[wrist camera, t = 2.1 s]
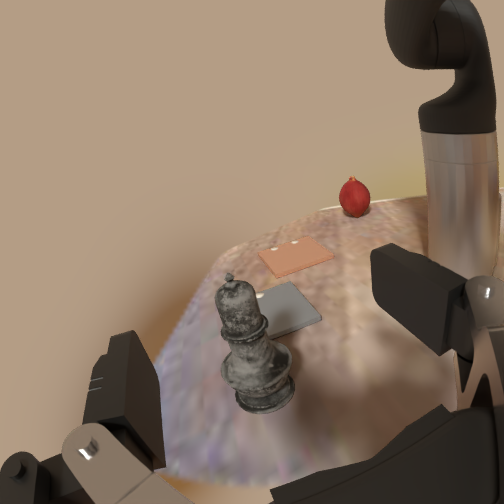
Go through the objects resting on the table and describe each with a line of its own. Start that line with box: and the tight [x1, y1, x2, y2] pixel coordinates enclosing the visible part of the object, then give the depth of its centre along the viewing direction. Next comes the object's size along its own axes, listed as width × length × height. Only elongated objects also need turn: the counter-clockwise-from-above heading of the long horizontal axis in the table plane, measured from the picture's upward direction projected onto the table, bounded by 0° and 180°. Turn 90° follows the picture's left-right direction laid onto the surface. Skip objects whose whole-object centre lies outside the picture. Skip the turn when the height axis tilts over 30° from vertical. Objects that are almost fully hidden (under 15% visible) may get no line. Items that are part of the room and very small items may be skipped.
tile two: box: [258, 236, 334, 278], centre depth 49 cm, size 9×9×1 cm
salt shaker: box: [215, 273, 295, 414], centre depth 24 cm, size 6×6×12 cm
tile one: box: [255, 281, 321, 340], centre depth 37 cm, size 9×9×1 cm
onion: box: [339, 176, 370, 217], centre depth 56 cm, size 6×6×8 cm
